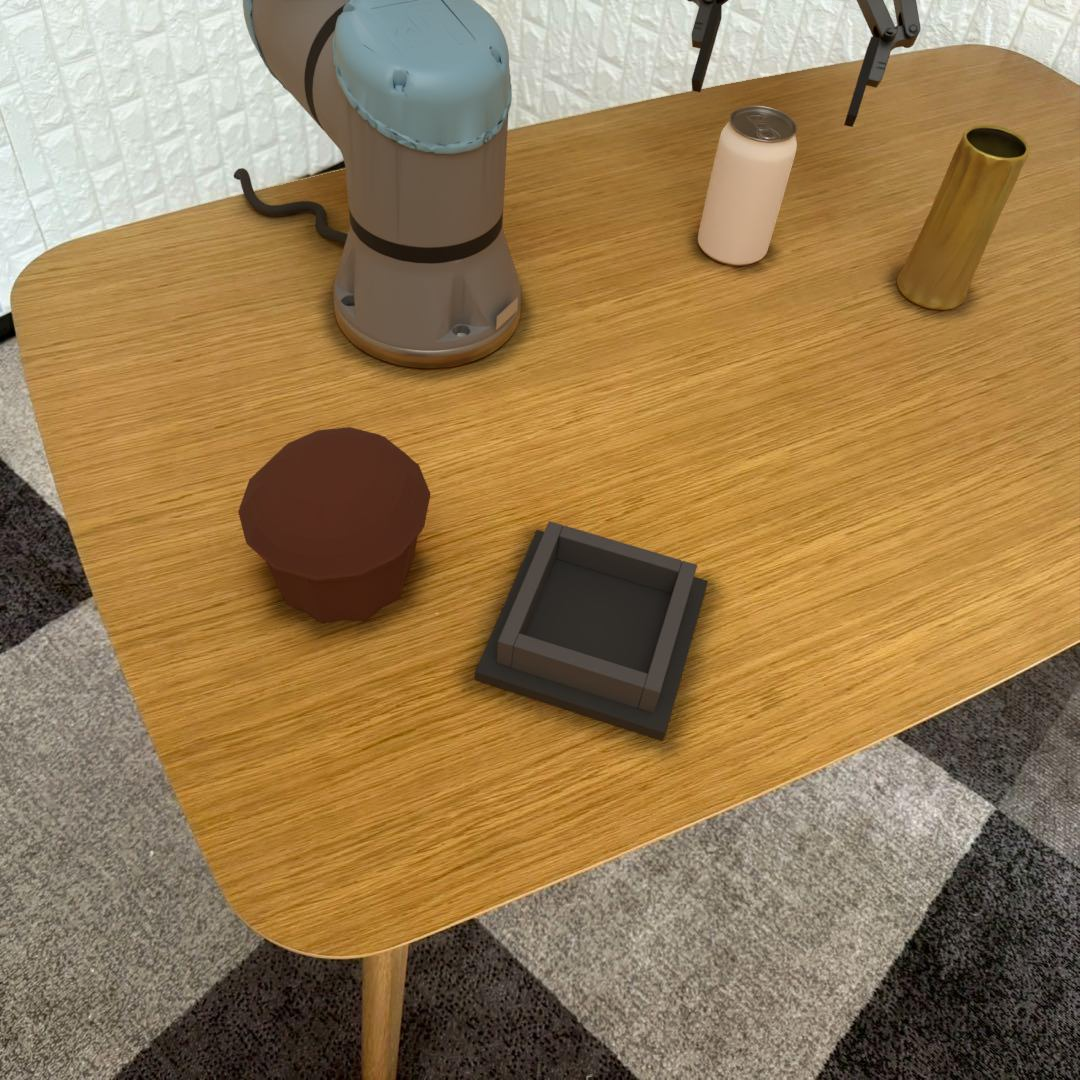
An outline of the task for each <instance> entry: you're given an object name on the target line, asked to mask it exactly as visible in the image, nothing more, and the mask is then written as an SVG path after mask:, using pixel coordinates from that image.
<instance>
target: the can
mask: <svg viewBox="0 0 1080 1080" xmlns="http://www.w3.org/2000/svg"><path fill="white" fill-rule="evenodd" d="M797 131H798V125H797V123H796V121H795V120H794V119H793V117H791V116H790V115H789V114H787V113H786V112H784V111H782V110H780V109H778V108H774V107H771V106H766V105H756V104H755V105H754V104H753V105H745V106H741V107H738V108H736V109H734V110H733V111H732V112H731V113H730V115H729V118H728V122H727V123H726V124H725V126H724V127H723V128H722V130H721V132H720V135H719V139H718V144H717V148H716V152H715V156H714V161H713V165H712V170H711V173H710V179H709V183H708V187H707V192H706V197H705V200H704V205H703V206H704V207H703V210H702V215H701V219H700V223H699V229H698V234H697V244H698V245H699V247H700V249H701V250H702V252H703V253H704V254H705V255H706V256H707V257H708V258H710V259H711V260H713V261H715V262H717V263H719V264H721V265H726V266H732V267H744V266H749V265H752V264H755V263H757V262H759V261H760V260H762V259H763V258H765V256H766V255H767V254H768V250H769V247H770V243H771V242H772V241H771V240H772V238H773V234H774V231H775V227H776V224H777V219H778V217H779V213H780V210H781V206H782V202H783V200H784V196H785V192H786V190H787V189H786V188H787V186H788V181H789V178H790V175H791V171H792V167H793V164H794V161H795V157H796V152H797V149H798V142H797V137H796V134H797Z"/></svg>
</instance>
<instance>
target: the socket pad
mask: <svg viewBox="0 0 1080 1080" xmlns="http://www.w3.org/2000/svg"><path fill="white" fill-rule="evenodd" d="M697 569H698V565H697V564H696V563H692V562H689V561H686V560H682V559H679V558H676V557H672V556H669V555H666V554H662V553H658V552H656V551H652V550H649V549H645V548H641V547H638V546H635V545H632V544H628V543H625V542H622V541H619V540H615V539H611V538H608V537H605V536H601V535H598V534H594V533H592V532H588V531H584V530H581V529H578V528H574V527H572V526H567V525H563V524H561V523H557V522H555V521H551V520H549V521H548V522H547V524H546V527H545V530H544V531H543V530H539V529H536V531H535V532H534V535H533V537H532V539H531V542H530V544H529V546H528V548H527V551H526V553H525V556H524V558H523V560H522V562H521V565H520V567H519V569H518V572H517V574H516V576H515V579H514V581H513V583H512V585H511V588H510V589H509V592H508V595H507V597H506V599H505V602H504V604H503V606H502V609H501V611H500V613H499V615H498V617H497V620H496V623H495V625H494V627H493V630H492V631H491V634H490V636H489V639H488V641H487V643H486V646H485V647H484V650H483V653H482V654H481V657H480V659H479V662H478V664H477V667H476V669H475V671H474V681H478V682H480V683H483V684H485V685H490V686H492V687H496V688H499V689H502V690H504V691H508V692H511V693H515V694H517V695H520V696H524V697H526V698H529V699H533V700H536V701H539V702H543V703H546V704H548V705H551V706H555V707H557V708H561V709H564V710H567V711H570V712H573V713H576V714H580V715H583V716H585V717H589V718H592V719H594V720H598V721H600V722H604V723H607V724H610V725H613V726H616V727H619V728H622V729H626V730H628V731H632V732H635V733H638V734H641V735H644V736H647V737H651V738H653V739H656V740H659V741H664V740H665V736H666V734H667V730H668V726H669V723H670V719H671V716H672V713H673V708H674V705H675V702H676V698H677V695H678V691H679V687H680V684H681V679H682V676H683V673H684V670H685V665H686V662H687V658H688V656H689V652H690V647H691V644H692V641H693V637H694V635H695V630H696V627H697V626H696V625H697V623H698V618H699V616H700V612H701V608H702V605H703V601H704V597H705V594H706V590H707V587H708V583H709V582H708V580H707V579H704V578H700V577H696V576H695V575H696V571H697Z"/></svg>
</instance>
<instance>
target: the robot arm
mask: <svg viewBox="0 0 1080 1080" xmlns="http://www.w3.org/2000/svg"><path fill="white" fill-rule="evenodd" d="M686 1H688V2H691V3H692V2H693V3H694V4H696V6H697V7H698V8H697V9H698V10H697V12H696V17H695V20H694V24H693V28H692V30H691V46H692V48H696V49H699V52H698V55H697V59H696V63H695V65H694V69H693V73H692V77H691V91H692V92H696V93H702V88H703V85H704V82H705V78H706V75H707V71H708V67H709V64H710V60H711V57H712V53H713V49H714V47H715V44H716V43H715V41H716V39H717V35H718V33H719V29H720V24H721V21H722V18H723V17H722V14H723V13H722V12H723V9H722V8H723V7H722V6H723V5H724V4H726V3H727V2H728V1H729V0H686ZM892 2H893V6H894V7H893V8H894V13H895V18H896V24H897V25H895V23H894V21H893V18H892V17H891V14H890V12H889V10H888V7H887V5H886V3H885V1H884V0H856V3H857V4H858V6H859V10H860V11H861V14H862V16H863V18H864V20H865V22H866V25H867V27H868V29H869V32H870V34H871V35H872V36H870V39H869V42H868V44H867V48H866V51H865V54H864V56H863V57H864V58H863V61H862V63H861V67H860V70H859V74H858V77H857V80H856V82H855V87H854V90H853V94H852V97H851V100H850V103H849V107H848V111H847V114H846V116H845V119H844V124H843V125H844V126H845V127H849V128H853V127H854V125H855V122H856V121H857V117H858V114H859V111H860V107H861V104H862V102H863V98H864V94H865V92H866V87H867V86H868V87H871V88H878V86H879V85H880V84H881V82H882V80H883V78H884V75H885V73H886V68H887V65H888V62H889V58H890V55H891V52H892V51H893V50H895V49H896V48H902V47H903V48H904V49H910V48H912V47H913V46H915V43H916V40H917V38H918V37H919V35H920V32H921V27H922V26H921V22H920V21H921V20H920V16H919V9H918V4H917V0H892ZM242 11H243V17H244V22H245V27H246V29H247V32H248V34H249V37H250V39H251V41H252V43H253V45H254V47H255V49H256V51H257V52H258V54H259V57H260V58H261V60H262V61H263V63H264V65H265V67H266V68H267V70H268V71H269V73H270V74H271V75H272V77H273V78H274V79H275V80H277V82H279V83H280V84H281V86H282V87H283V89H285V90H286V91H287V92H288V93H290V95H291V96H292V97H293V98H294V99H295V100H296V101H297V103H298V104H299V105H300V106H301V107H302V108H303V110H304V111H305V112H307V114H308V115H309V116H310V118H312V119H313V121H314V122H315V123H316V124H317V125H318V126H319V127H320V129H321V130H322V131H324V133H326V135H327V137H329V138H330V140H331V141H332V142H333V143H334V145H335V146H336V147H337V148H338V150H339V152H340V154H341V155H342V159H343V163H344V169H345V180H346V191H347V203H348V213H349V214H348V215H349V230H348V232H347V233H346V232H342V231H339V230H335V229H332V228H330V227H329V226H327V211H326V210H325V208H324V207H323V206H322V205H321V203H318V202H315V201H310V200H301V201H300V200H299V201H294V202H293V201H292V202H288V203H284V204H275V205H274V204H268V203H265V202H263V201H262V200H261V199H259V197H257V194H256V193H255V190H254V188H253V183H252V180H251V175H250V174H249V171H248V170H247V169H246V168H244V167H242V168H240V167H239V168H238V169H237V170H235V171H234V174H233V178H234V179H235V180H237V181H239V182H240V187H241V190H242V193H243V195H244V197H245V199H246V200H247V202H248V204H249V205H250V206H251V208H253V209H254V210H255V211H256V212H258V213H260V214H262V215H266V216H272V217H278V216H287V215H290V214H297V213H302V212H308V213H314V215H315V222H314V226H315V229H316V231H317V233H318V234H319V235H321V237H323V238H325V239H327V240H330V241H333V242H337V243H339V244H343V245H344V246H343V251H342V252H341V253H342V254H341V257H340V260H339V264H338V268H337V271H336V274H335V277H334V282H333V287H332V297H333V305H334V314H335V319H336V322H337V325H338V326H339V328H340V330H341V332H342V333H343V334H344V336H345V337H346V338H347V339H348V341H350V342H351V343H352V344H353V345H354V346H355V347H357V348H358V349H360V350H361V351H362V352H365V353H366V354H368V355H370V356H372V357H374V358H376V359H379V360H381V361H383V362H387V363H390V364H393V365H399V366H403V367H408V368H417V369H443V368H450V367H457V366H460V365H465V364H468V363H469V364H470V363H472V362H475V361H477V360H480V359H482V358H484V357H487V356H489V355H490V354H493V352H495V351H497V350H498V349H500V348H501V347H503V345H505V343H506V342H508V340H509V339H510V338H511V337H512V336H513V334H514V333H515V331H516V329H517V327H518V325H519V322H520V318H521V308H522V286H521V282H520V279H519V276H518V272H517V269H516V266H515V263H514V260H513V257H512V254H511V251H510V248H509V244H508V241H507V238H506V235H505V232H504V228H503V224H504V223H503V222H504V204H505V184H506V167H507V148H508V147H507V146H508V128H509V127H508V126H509V125H508V124H509V112H510V109H511V106H512V98H513V97H512V96H513V89H512V83H511V82H512V81H511V80H512V77H511V76H512V75H511V72H510V71H511V70H510V53H509V47H508V46H509V45H508V43H507V40H506V37H505V35H504V33H503V30H502V28H501V27H500V25H499V24H498V22H497V20H496V19H495V18H494V17H493V16H492V14H491V13H490V12H489V11H487V9H485V8H484V7H483V6H482V5H480V4H479V3H478V2H476V1H475V0H242Z"/></svg>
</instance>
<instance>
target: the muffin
mask: <svg viewBox="0 0 1080 1080" xmlns="http://www.w3.org/2000/svg"><path fill="white" fill-rule="evenodd" d="M431 495H432V494H431V492H430V488H429V487H428V484H427V482H426V479H425V477H424V475H423V472H422V469H421V466H420V465H419V464H418V463H417V462H416V461H414V460H413V459H412V457H410V456H409V455H408V454H407V453H406V452H405V451H403V450H402V449H401V448H399V447H398V446H397V445H396V444H394V442H392V441H391V440H390V439H388V438H387V437H385V435H382V434H378V433H375V432H371V431H367V430H363V429H358V428H355V427H351V426H348V427H337V428H328V429H327V428H326V429H316V430H314V431H313V432H310V433H308V434H305V435H303V436H301V437H299V438H297V439H294V440H292V441H290V442H288V443H286V444H285V445H284V446H283V447H282V448H281V449H280V450H278V452H277V453H275V454H274V455H273V456H272V457H271V458H270V459H269V460H268V461H266V463H265V464H264V465H262V467H260V469H259V470H258V471H257V472H256V473H254V474H253V475H252V476H251V478H249V479H248V482H247V486H246V488H245V491H244V494H243V497H242V499H241V501H240V502H241V503H240V505H239V508H238V511H237V513H238V516H239V521H240V524H241V528H242V532H243V536H244V539H245V543H246V545H247V546H248V547H249V548H250V549H252V551H254V552H255V553H256V554H257V555H258V556H259V557H260V558H262V560H263V561H264V562H265V563H266V565H267V567H268V570H269V571H270V573H271V576H272V578H273V579H274V581H275V584H276V586H277V588H278V590H279V592H280V594H281V596H282V598H283V600H284V602H285V604H286V605H288V606H290V607H291V608H293V609H297V610H299V611H302V612H304V613H306V614H307V615H309V616H310V617H312V618H313V619H314V620H316V621H318V622H319V623H320V624H327V623H333V622H342V621H357V622H358V621H360V622H361V621H362V622H364V621H365V622H366V621H367V620H369V619H370V618H371V617H372V616H374V615H375V614H376V613H378V612H379V611H380V610H381V609H383V608H385V607H387V606H388V605H390V604H392V603H394V602H396V601H397V600H399V599H401V597H402V594H403V593H402V592H403V589H404V584H405V581H406V579H407V576H408V574H409V573H410V570H411V568H412V566H413V562H414V557H415V553H416V547H417V542H418V538H419V535H420V534H421V533H422V532H423V529H424V527H425V525H426V519H427V515H428V509H429V504H430V501H431Z"/></svg>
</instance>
